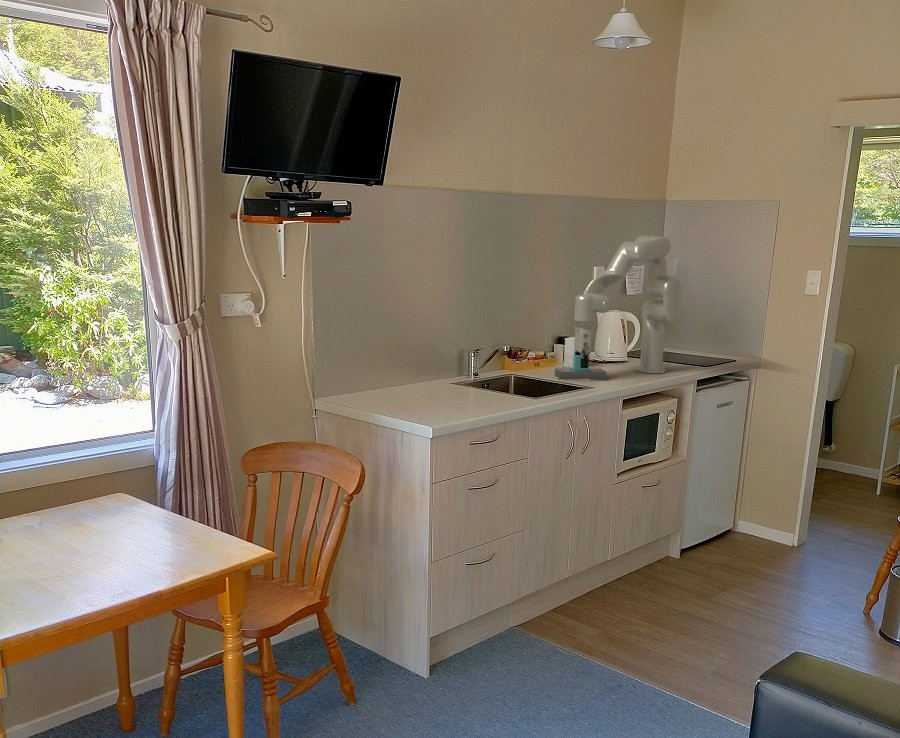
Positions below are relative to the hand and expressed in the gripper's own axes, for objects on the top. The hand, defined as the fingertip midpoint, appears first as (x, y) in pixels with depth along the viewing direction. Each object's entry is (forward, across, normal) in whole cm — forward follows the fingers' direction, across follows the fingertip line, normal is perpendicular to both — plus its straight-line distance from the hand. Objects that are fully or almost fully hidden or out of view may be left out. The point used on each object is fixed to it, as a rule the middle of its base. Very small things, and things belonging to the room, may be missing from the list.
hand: (580, 365), depth 336 cm
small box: (+5, +26, -5) cm, 28 cm away
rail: (+5, 0, 0) cm, 5 cm away
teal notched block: (+5, 0, 0) cm, 5 cm away
